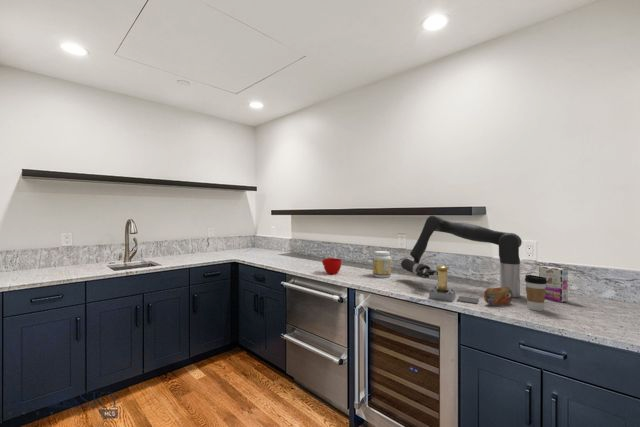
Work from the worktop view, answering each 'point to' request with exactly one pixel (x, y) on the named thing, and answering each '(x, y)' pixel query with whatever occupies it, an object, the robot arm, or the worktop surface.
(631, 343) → the worktop surface
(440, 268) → the pin
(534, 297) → the coffee cup
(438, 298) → the housing
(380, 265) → the supplement tub
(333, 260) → the ceramic cup
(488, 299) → the tin
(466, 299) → the pad
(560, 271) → the candy bar box
